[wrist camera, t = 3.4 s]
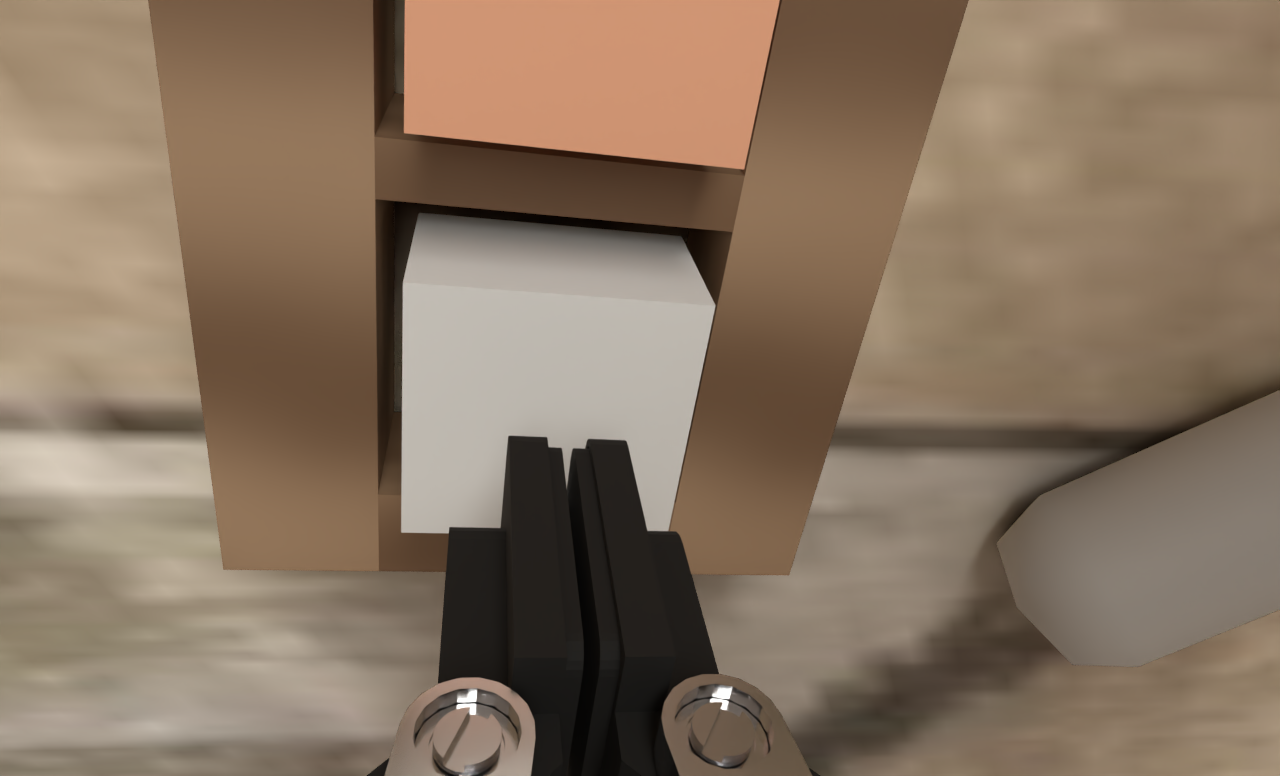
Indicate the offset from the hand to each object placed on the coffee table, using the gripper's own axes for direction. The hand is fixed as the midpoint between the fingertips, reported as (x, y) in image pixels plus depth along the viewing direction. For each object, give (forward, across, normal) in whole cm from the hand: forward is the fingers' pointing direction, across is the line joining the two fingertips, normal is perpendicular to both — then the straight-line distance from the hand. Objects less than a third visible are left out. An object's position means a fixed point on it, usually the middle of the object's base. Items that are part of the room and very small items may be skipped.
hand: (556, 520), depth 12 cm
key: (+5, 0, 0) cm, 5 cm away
